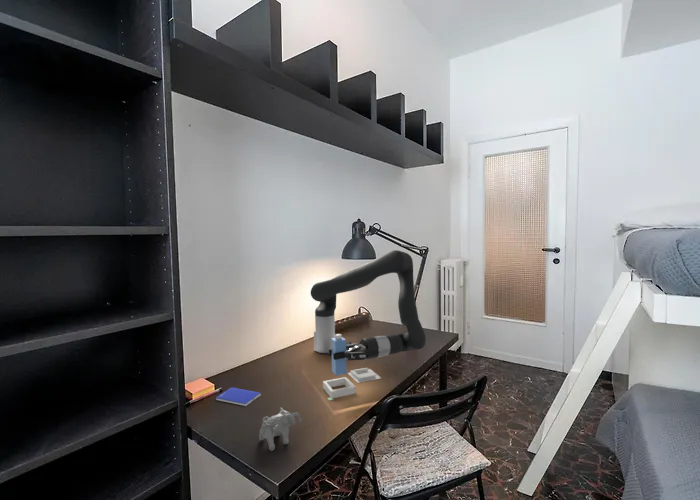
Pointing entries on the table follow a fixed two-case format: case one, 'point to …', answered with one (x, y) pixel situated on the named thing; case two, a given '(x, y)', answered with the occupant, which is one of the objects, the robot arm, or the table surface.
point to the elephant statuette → (277, 427)
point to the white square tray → (363, 375)
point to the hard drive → (238, 396)
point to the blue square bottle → (337, 346)
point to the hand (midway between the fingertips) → (331, 354)
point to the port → (340, 392)
